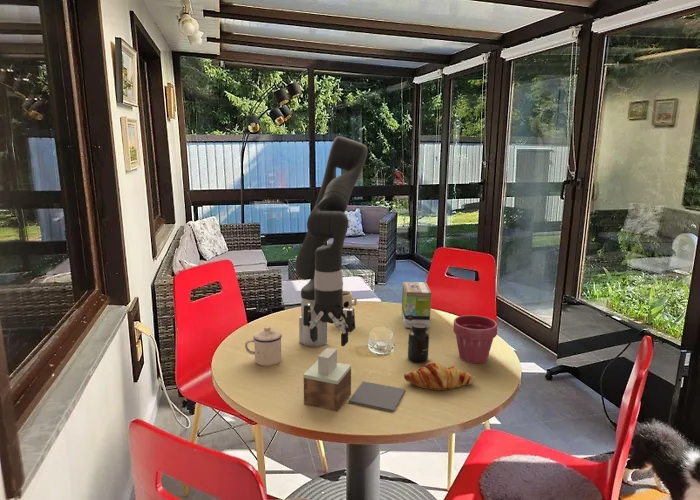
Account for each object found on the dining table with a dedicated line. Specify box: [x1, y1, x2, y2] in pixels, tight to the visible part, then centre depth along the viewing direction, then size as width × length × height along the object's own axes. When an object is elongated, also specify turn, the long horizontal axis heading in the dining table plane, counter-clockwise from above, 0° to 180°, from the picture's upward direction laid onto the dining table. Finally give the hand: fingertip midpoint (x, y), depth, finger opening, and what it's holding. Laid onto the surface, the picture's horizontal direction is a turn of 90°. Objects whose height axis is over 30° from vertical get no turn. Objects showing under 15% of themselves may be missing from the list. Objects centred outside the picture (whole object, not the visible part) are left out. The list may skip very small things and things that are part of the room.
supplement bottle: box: [407, 323, 430, 364], centre depth 159 cm, size 7×7×12 cm
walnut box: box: [303, 368, 352, 413], centre depth 134 cm, size 10×10×8 cm
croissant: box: [403, 361, 476, 391], centre depth 144 cm, size 21×10×8 cm, turn 92°
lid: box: [302, 347, 352, 384], centre depth 133 cm, size 10×10×7 cm
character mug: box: [339, 290, 358, 326], centre depth 190 cm, size 11×7×13 cm, turn 87°
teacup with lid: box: [244, 326, 283, 367], centre depth 157 cm, size 12×9×12 cm
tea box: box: [401, 281, 432, 329], centre depth 193 cm, size 15×10×15 cm
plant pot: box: [452, 314, 498, 364], centre depth 161 cm, size 14×14×13 cm
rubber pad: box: [348, 381, 406, 413], centre depth 136 cm, size 13×12×1 cm
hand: (329, 342), depth 131 cm, fingers open, 8 cm apart
